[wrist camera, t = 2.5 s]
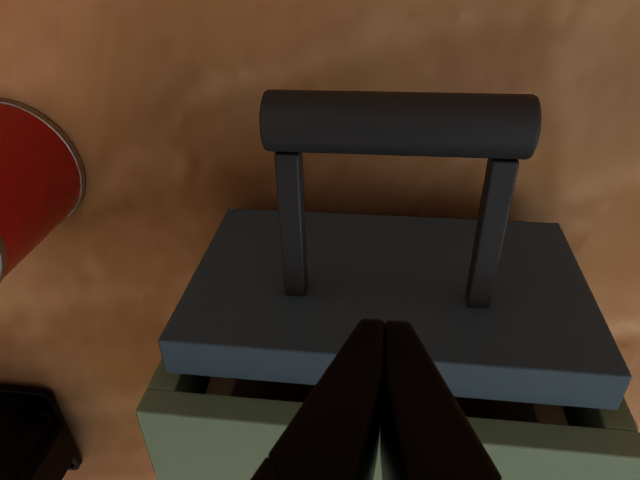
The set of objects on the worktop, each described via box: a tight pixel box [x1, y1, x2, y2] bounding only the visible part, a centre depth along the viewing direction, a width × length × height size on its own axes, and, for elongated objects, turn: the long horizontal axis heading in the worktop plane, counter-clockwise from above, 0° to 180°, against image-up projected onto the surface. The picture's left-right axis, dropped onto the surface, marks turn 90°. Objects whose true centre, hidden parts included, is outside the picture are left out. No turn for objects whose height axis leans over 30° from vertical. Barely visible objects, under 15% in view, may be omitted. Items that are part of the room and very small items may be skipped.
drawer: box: [158, 90, 632, 425], centre depth 18 cm, size 21×11×7 cm, turn 1°
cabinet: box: [136, 358, 640, 480], centre depth 21 cm, size 17×13×9 cm
